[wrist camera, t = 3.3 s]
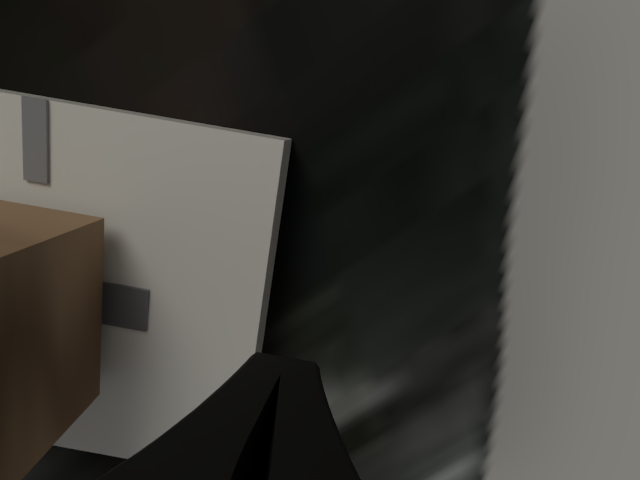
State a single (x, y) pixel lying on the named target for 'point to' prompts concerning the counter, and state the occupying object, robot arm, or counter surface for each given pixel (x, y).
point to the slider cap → (46, 328)
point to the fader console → (155, 249)
